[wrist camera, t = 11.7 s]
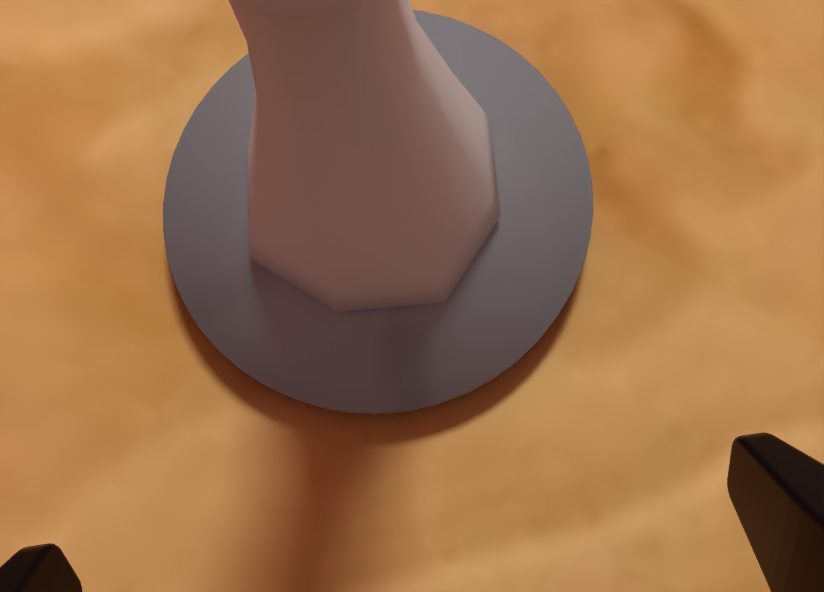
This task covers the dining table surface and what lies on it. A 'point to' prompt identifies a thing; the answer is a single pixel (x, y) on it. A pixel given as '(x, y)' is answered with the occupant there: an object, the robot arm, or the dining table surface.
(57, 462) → the dining table surface
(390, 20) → the flask
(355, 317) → the slate coaster
